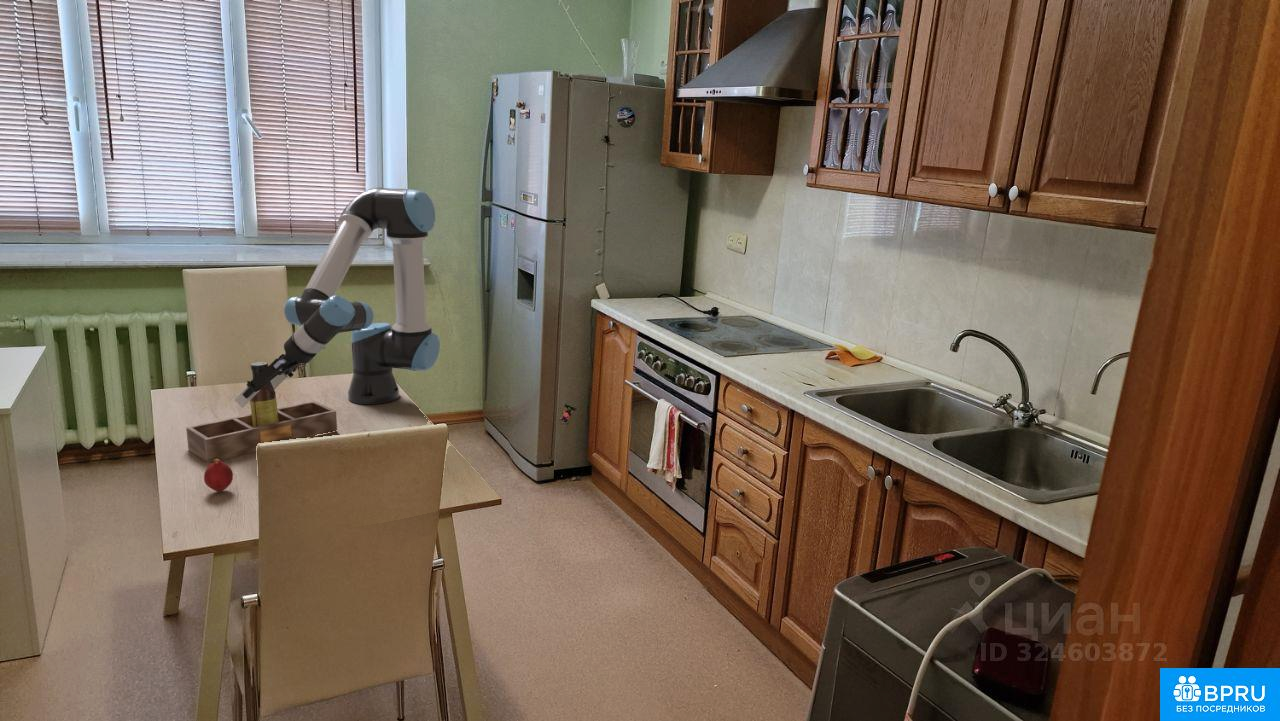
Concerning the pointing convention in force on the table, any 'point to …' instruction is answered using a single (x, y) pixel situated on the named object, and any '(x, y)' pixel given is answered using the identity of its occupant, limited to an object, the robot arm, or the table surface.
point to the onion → (218, 476)
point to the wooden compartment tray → (259, 431)
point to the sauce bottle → (263, 400)
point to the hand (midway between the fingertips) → (253, 395)
